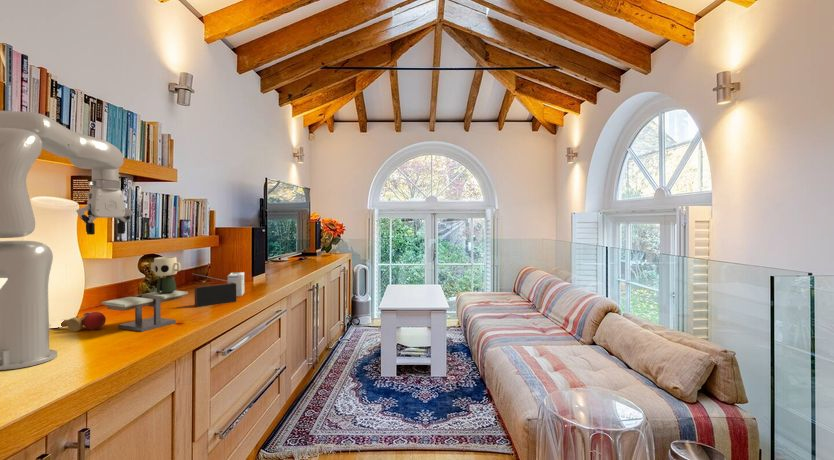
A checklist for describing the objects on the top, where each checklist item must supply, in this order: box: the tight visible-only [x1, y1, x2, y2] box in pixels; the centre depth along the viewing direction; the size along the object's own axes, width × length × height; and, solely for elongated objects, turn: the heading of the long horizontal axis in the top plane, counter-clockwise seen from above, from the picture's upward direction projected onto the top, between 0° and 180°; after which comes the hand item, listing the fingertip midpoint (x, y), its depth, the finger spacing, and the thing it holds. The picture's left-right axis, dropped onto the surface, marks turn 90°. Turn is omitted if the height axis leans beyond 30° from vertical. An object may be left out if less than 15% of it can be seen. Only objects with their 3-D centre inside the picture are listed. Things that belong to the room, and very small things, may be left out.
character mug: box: [150, 256, 182, 293], centre depth 144 cm, size 11×7×13 cm, turn 88°
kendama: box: [61, 311, 107, 332], centre depth 133 cm, size 8×6×18 cm
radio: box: [190, 272, 237, 308], centre depth 174 cm, size 19×3×15 cm, turn 136°
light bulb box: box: [227, 271, 245, 297], centre depth 196 cm, size 11×7×11 cm, turn 17°
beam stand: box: [118, 294, 177, 333], centre depth 138 cm, size 12×12×10 cm
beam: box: [101, 290, 189, 312], centre depth 138 cm, size 22×12×3 cm, turn 158°
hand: (106, 234), depth 139 cm, fingers open, 9 cm apart
